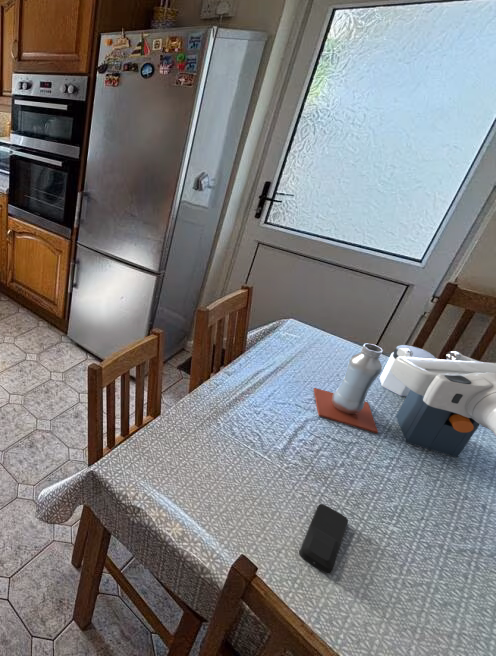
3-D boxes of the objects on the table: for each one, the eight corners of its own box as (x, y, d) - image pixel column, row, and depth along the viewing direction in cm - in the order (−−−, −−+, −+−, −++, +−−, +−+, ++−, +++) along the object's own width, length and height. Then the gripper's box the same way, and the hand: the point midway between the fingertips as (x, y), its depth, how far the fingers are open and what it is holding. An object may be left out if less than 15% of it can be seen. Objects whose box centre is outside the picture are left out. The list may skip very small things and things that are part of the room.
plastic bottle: (356, 404, 112) (386, 344, 103) (362, 421, 107) (393, 358, 98) (327, 396, 115) (354, 337, 106) (331, 412, 110) (359, 351, 101)
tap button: (465, 427, 94) (472, 417, 93) (469, 434, 93) (476, 424, 91) (446, 422, 96) (452, 411, 95) (450, 429, 94) (456, 418, 93)
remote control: (317, 507, 87) (297, 555, 78) (320, 501, 86) (300, 549, 77) (346, 523, 84) (329, 576, 74) (349, 518, 83) (333, 570, 74)
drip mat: (367, 404, 113) (368, 402, 113) (377, 433, 104) (378, 431, 103) (313, 389, 119) (314, 387, 118) (318, 416, 109) (319, 414, 109)
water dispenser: (443, 429, 105) (480, 370, 97) (459, 459, 97) (501, 397, 89) (393, 415, 109) (425, 357, 101) (405, 442, 101) (440, 382, 93)
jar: (403, 378, 122) (420, 345, 117) (427, 397, 115) (447, 363, 110) (370, 377, 123) (386, 344, 118) (392, 396, 116) (410, 361, 110)
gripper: (563, 388, 73) (489, 343, 86) (433, 379, 76) (379, 337, 88) (543, 415, 76) (474, 368, 88) (418, 405, 79) (368, 360, 91)
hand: (426, 352), depth 88 cm, fingers open, 8 cm apart
